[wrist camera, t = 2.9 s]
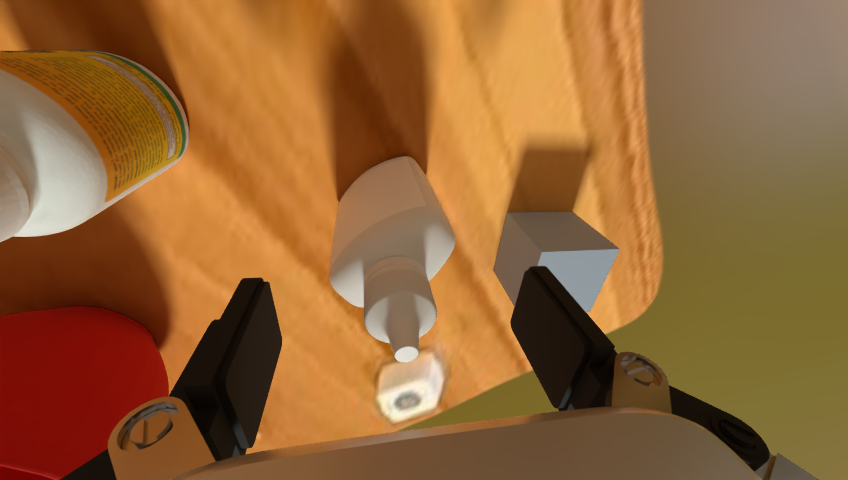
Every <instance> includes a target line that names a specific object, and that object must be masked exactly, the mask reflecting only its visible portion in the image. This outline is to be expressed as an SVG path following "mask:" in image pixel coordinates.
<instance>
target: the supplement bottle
mask: <svg viewBox="0 0 848 480" xmlns="http://www.w3.org/2000/svg"><path fill="white" fill-rule="evenodd" d="M188 143H189V128H188V122H187V118H186V115H185V112H184V109H183V107H182V105H181V103H180V102H179V100H178V99H177V97H176V96H175V94H174V93H173V92H172V91H171V89H170V88H169V87H168V86H167V85H166V84H165V83H164V82H163V81H162V80H161V79H160V78H158V77H157V76H156V75H155V74H154V73H152V72H151V71H150V70H148V69H147V68H145V67H144V66H142V65H140V64H138V63H136V62H134V61H132V60H129V59H127V58H125V57H122V56H118V55H115V54H111V53H107V52H100V51H90V50H60V51H32V50H24V51H0V242H2V241H4V240H6V239H9V238H11V237H12V236H15V237H31V236H43V235H50V234H55V233H59V232H63V231H66V230H69V229H71V228H74V227H76V226H78V225H80V224H82V223H84V222H85V221H87V220H89V219H90V218H92V217H93V216H95V215H97V214H98V213H100V212H101V211H103V210H105V209H106V208H108V207H109V206H111V205H112V204H114V203H115V202H117V201H118V200H120V199H122V198H123V197H125V196H126V195H128V194H129V193H131V192H132V191H134V190H135V189H137V188H139V187H140V186H142V185H144V184H145V183H147V182H148V181H150V180H152V179H153V178H155V177H156V176H158V175H159V174H161V173H163V172H164V171H166V170H168V169H169V168H170V167H172V166H173V165H174V164H176V163H177V162H178V161H179V160H180V159H181V158H182V156H183V155H184V153H185V151H186V149H187V147H188Z"/></svg>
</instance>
